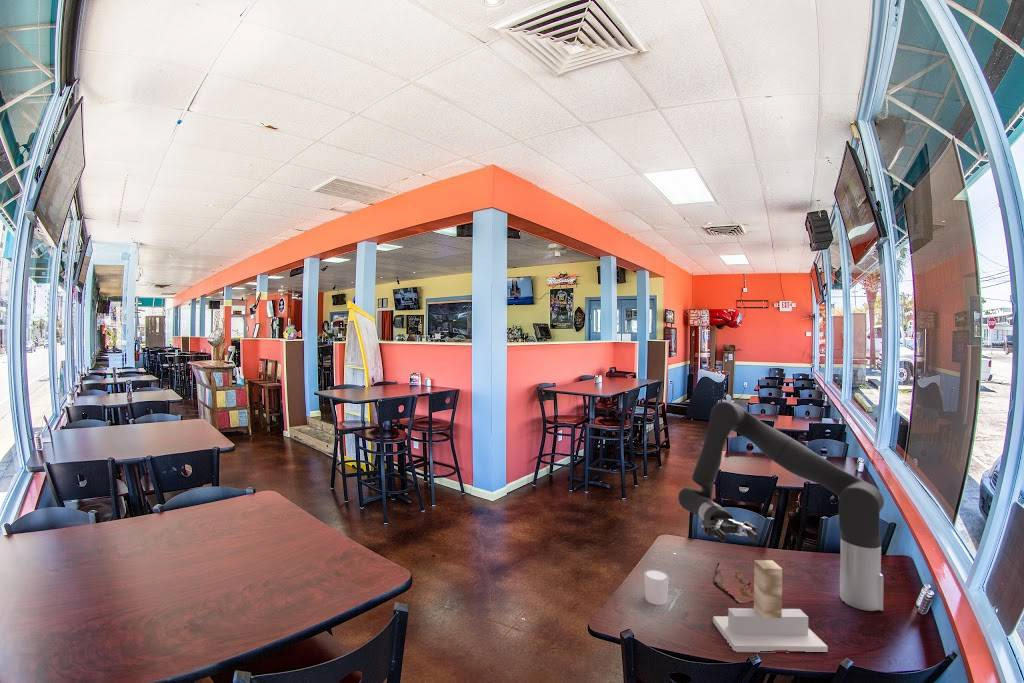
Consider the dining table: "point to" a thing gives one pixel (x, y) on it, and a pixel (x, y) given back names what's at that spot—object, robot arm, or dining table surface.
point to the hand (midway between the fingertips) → (740, 538)
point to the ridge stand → (768, 631)
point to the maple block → (768, 588)
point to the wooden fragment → (719, 580)
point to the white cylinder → (656, 586)
